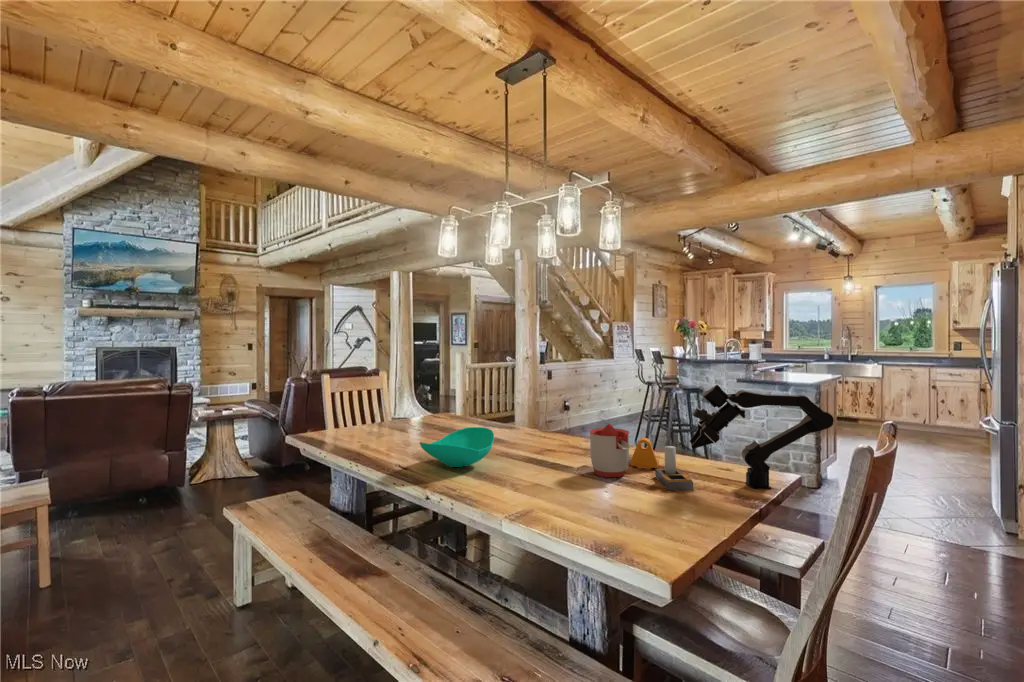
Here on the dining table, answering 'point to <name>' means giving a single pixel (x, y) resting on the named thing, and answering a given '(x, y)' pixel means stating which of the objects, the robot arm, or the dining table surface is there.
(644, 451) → the bracket
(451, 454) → the table top decor
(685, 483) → the grey boxy holed piece
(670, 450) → the peg
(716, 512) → the dining table surface
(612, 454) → the citrus juicer
